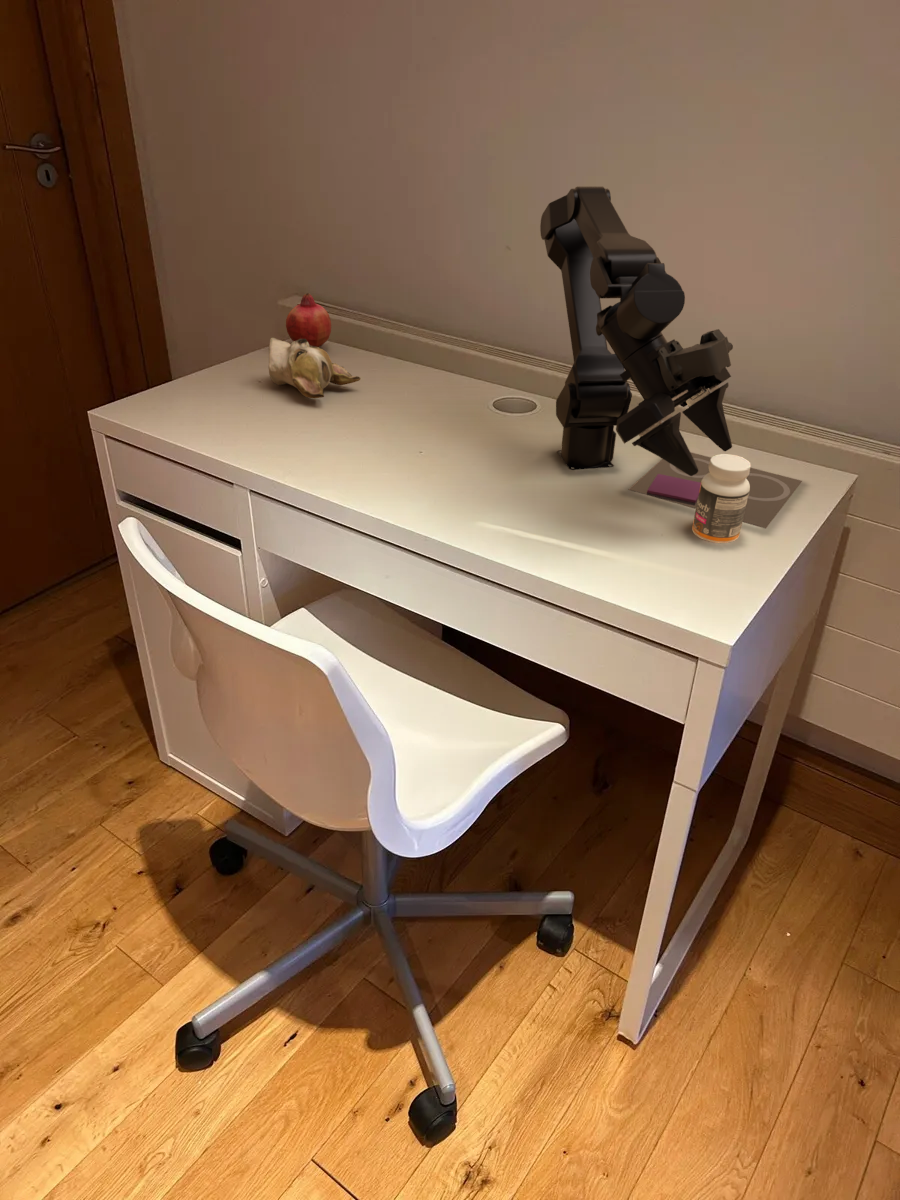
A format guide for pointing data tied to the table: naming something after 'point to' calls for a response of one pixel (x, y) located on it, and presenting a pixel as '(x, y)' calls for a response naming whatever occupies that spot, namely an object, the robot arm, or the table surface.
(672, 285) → the robot arm
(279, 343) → the ceramic sculpture
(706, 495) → the pill bottle
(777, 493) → the hob
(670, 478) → the plum cloth
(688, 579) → the table surface
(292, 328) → the fruit
